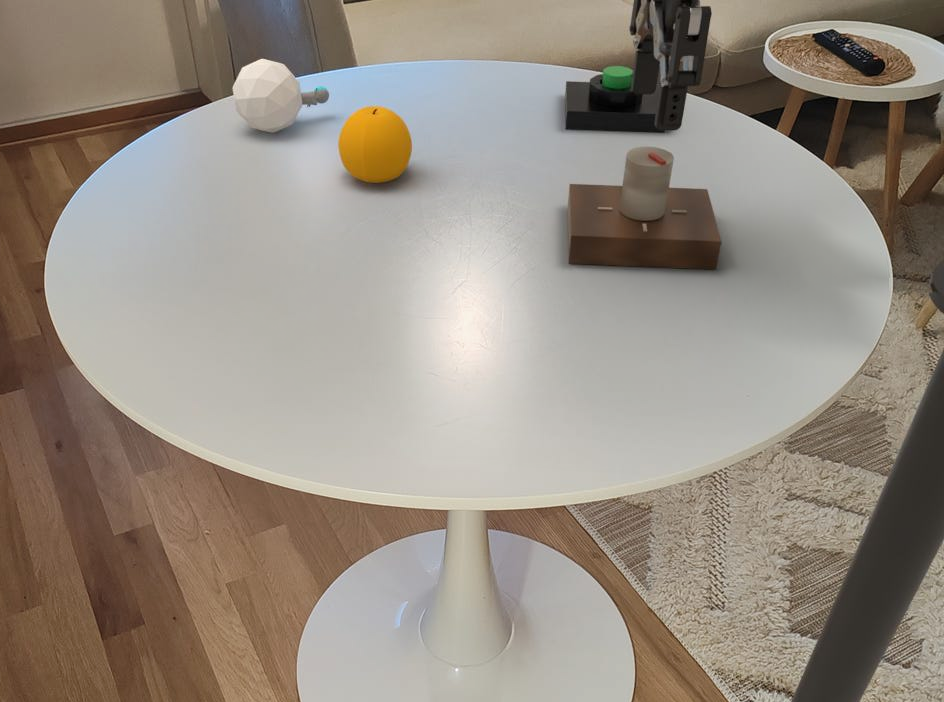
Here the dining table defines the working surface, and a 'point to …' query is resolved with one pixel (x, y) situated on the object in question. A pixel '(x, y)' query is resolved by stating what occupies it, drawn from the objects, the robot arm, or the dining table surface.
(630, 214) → the dimmer knob
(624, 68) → the green push button
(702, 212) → the dimmer panel
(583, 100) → the block
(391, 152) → the orange fruit
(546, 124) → the dining table surface
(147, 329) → the dining table surface
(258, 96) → the perfume bottle
